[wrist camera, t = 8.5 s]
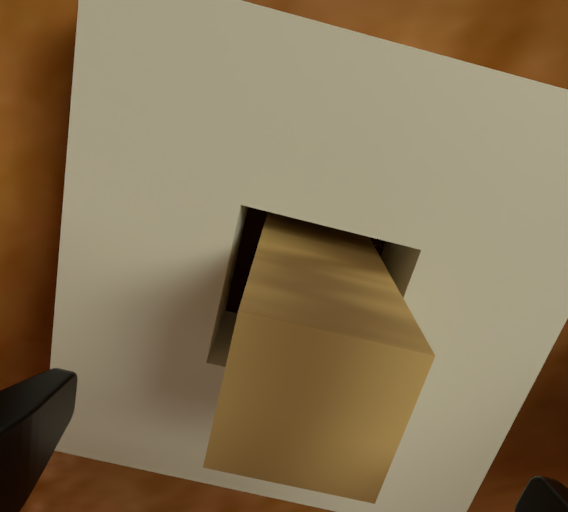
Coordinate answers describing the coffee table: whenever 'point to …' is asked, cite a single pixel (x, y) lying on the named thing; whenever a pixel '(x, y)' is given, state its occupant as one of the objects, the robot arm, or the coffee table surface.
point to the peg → (318, 365)
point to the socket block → (308, 207)
